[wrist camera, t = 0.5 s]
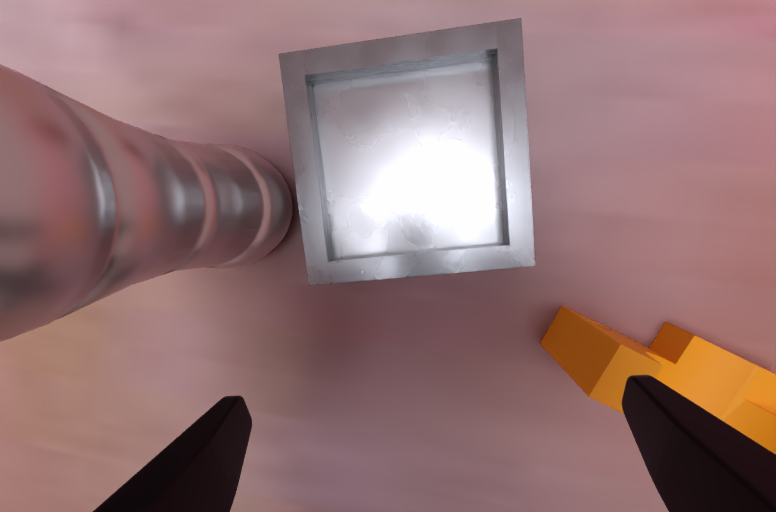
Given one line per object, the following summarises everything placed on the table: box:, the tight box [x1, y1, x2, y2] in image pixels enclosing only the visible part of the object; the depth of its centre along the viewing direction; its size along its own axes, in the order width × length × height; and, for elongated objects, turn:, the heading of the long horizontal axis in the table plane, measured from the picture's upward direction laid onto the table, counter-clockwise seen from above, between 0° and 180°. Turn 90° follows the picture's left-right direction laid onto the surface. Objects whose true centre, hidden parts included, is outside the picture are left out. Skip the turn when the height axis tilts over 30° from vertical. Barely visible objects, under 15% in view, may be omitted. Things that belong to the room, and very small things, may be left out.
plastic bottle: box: [0, 65, 293, 342], centre depth 12 cm, size 6×7×20 cm
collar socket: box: [279, 18, 535, 285], centre depth 20 cm, size 12×12×2 cm
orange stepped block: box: [540, 306, 776, 454], centre depth 18 cm, size 12×4×6 cm, turn 64°
